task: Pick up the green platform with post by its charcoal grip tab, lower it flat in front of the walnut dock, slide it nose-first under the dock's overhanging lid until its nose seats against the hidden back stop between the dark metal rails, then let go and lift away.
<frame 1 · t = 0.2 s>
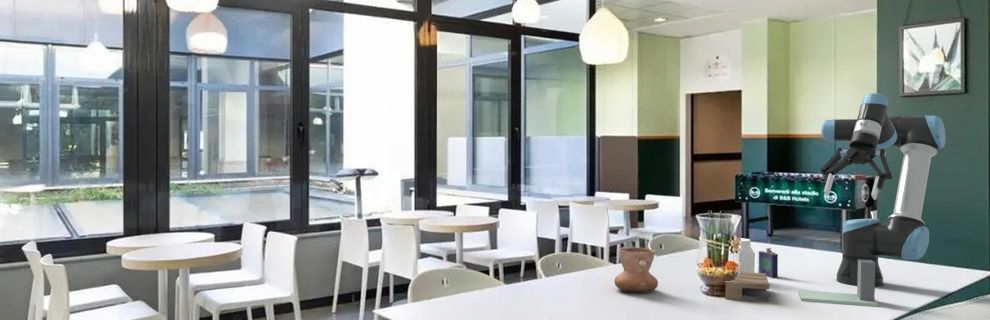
hand: (849, 195, 214), 35 cm above the table, tool tilted 35°, fingers open, 13 cm apart
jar: (737, 280, 259), on the table
ceramic jug: (635, 291, 239), on the table
green platform with post: (836, 300, 229), on the table
flask: (768, 276, 268), on the table
dock: (767, 295, 233), on the table
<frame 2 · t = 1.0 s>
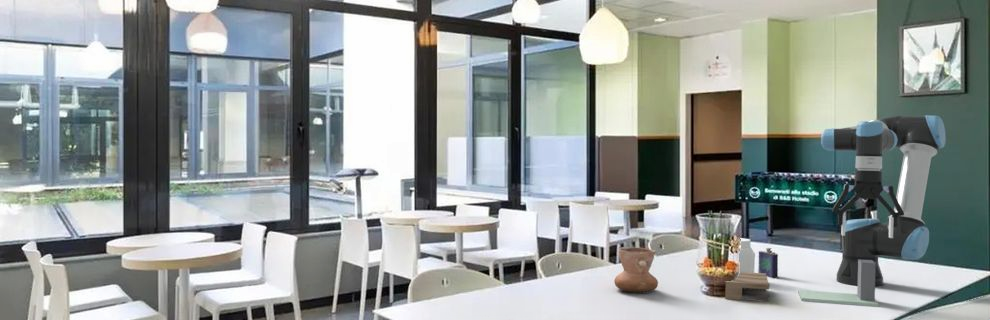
hand: (866, 236, 225), 21 cm above the table, tool pointing down, fingers open, 13 cm apart
nothing on the table moved.
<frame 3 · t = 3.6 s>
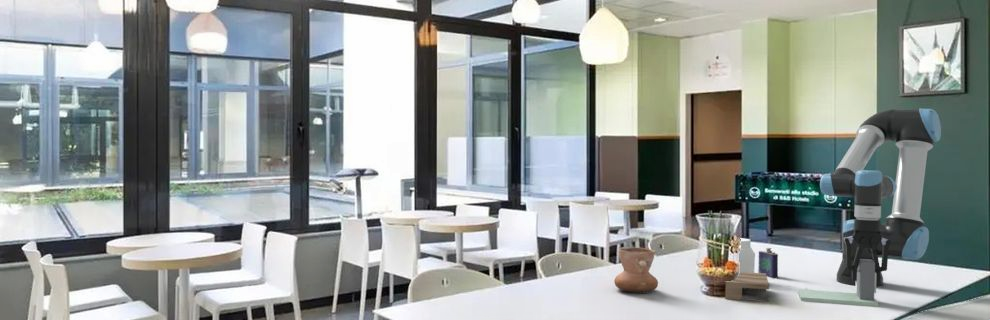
hand: (865, 291, 226), 3 cm above the table, tool pointing down, fingers closed on green platform with post, 4 cm apart
green platform with post: (836, 299, 229), on the table, touching gripper
everything else where it was.
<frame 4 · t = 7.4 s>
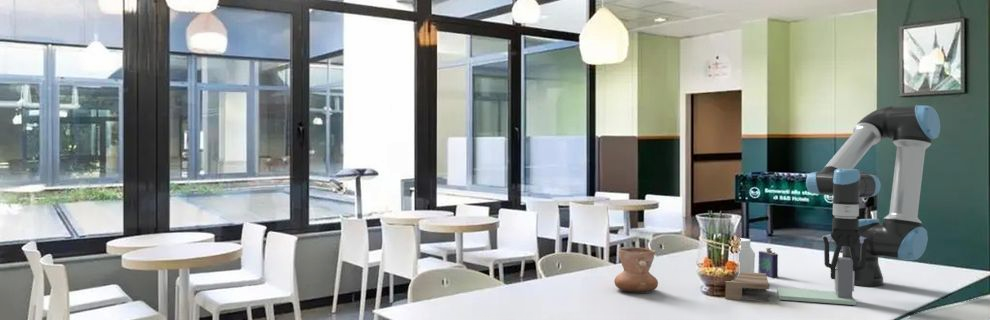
hand: (843, 289, 226), 4 cm above the table, tool pointing down, fingers closed on green platform with post, 4 cm apart
green platform with post: (814, 297, 229), on the table, touching gripper
everything else where it was.
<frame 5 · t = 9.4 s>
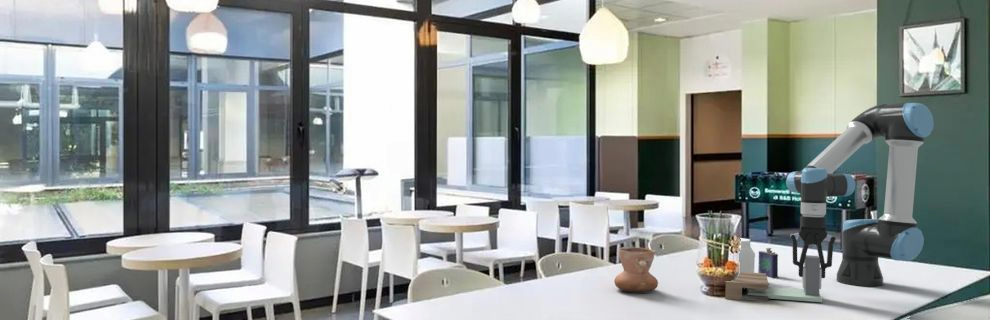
hand: (811, 287, 229), 4 cm above the table, tool pointing down, fingers closed on green platform with post, 4 cm apart
green platform with post: (783, 295, 232), on the table, touching gripper
everything else where it was.
when the fingers open (4 cm above the table, at t = 11.1 s): green platform with post stays where it is, on the table.
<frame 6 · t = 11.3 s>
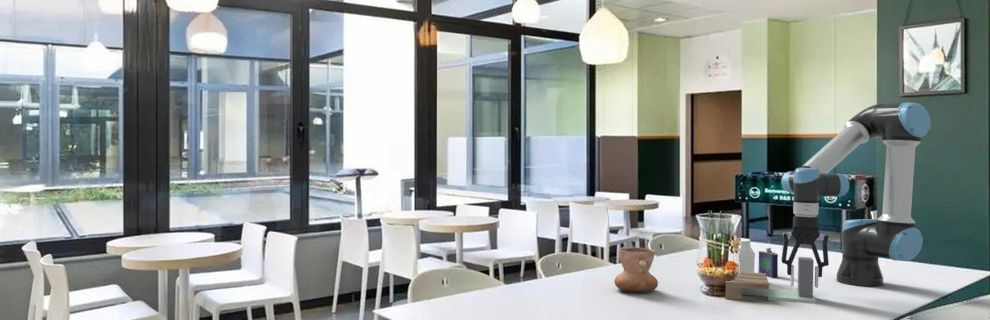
hand: (804, 286, 230), 4 cm above the table, tool pointing down, fingers open, 7 cm apart
green platform with post: (776, 296, 233), on the table
everything else where it was.
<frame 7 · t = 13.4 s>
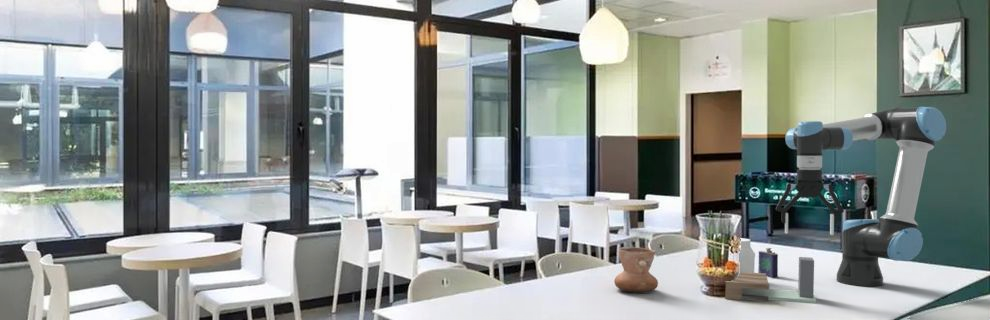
hand: (808, 233, 230), 21 cm above the table, tool pointing down, fingers open, 13 cm apart
nothing on the table moved.
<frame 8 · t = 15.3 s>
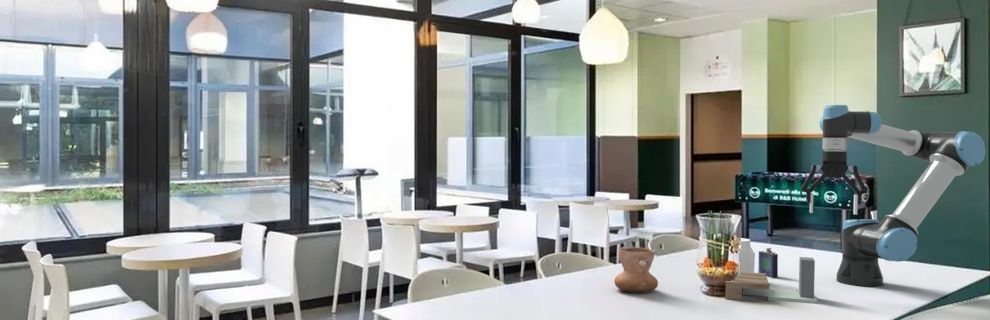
hand: (833, 213, 239), 27 cm above the table, tool pointing down, fingers open, 13 cm apart
nothing on the table moved.
at the end: green platform with post 0.1 cm from the target spot on the dock, point 0.0 cm above the dock's base; green platform with post tilted 0°; the gripper is holding nothing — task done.
